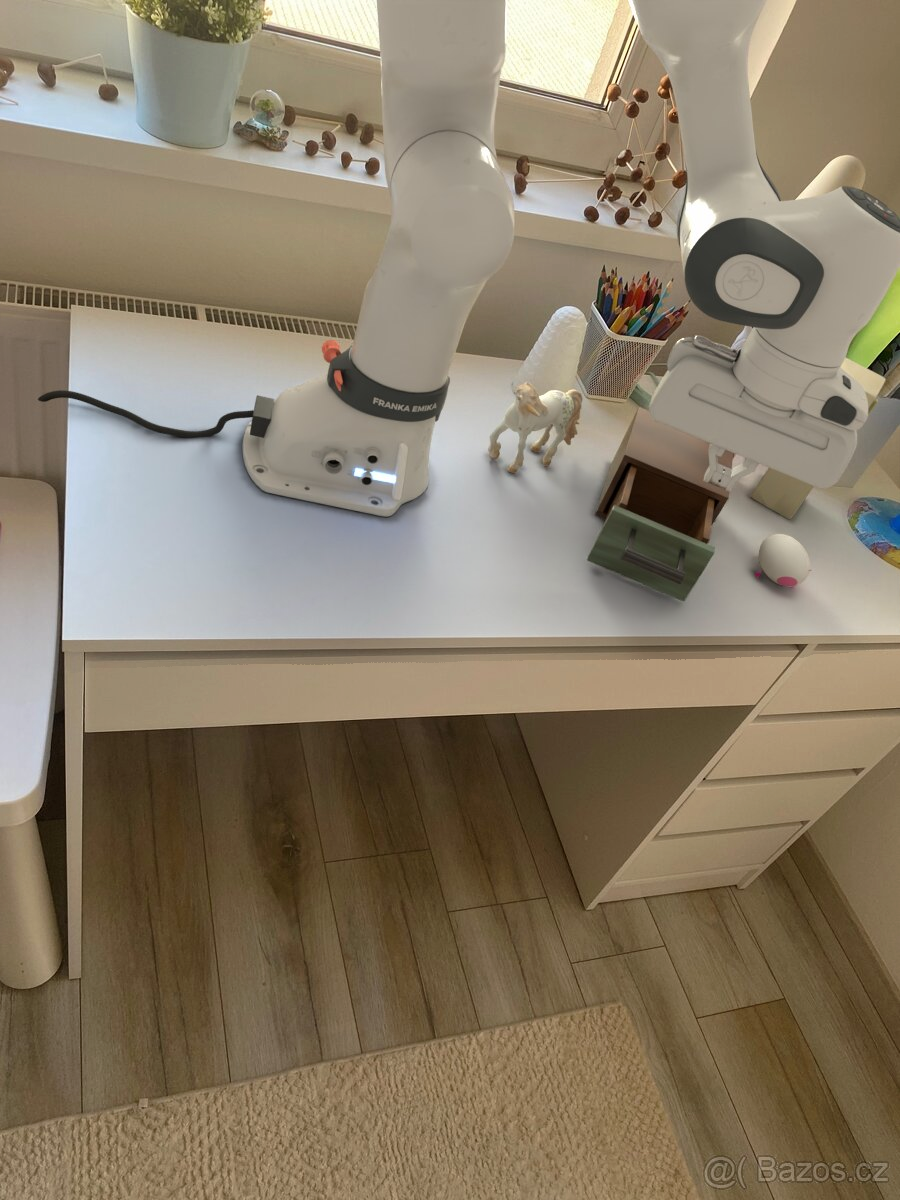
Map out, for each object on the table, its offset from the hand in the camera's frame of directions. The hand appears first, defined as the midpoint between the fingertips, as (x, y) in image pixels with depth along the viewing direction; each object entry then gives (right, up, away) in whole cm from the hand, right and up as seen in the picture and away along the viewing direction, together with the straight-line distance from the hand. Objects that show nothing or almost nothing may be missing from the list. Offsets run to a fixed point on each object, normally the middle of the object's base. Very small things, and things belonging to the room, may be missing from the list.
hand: (716, 483), depth 96 cm
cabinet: (-1, 0, +25) cm, 25 cm away
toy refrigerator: (+20, +2, +37) cm, 42 cm away
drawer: (-5, -8, +14) cm, 17 cm away
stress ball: (+14, -9, +22) cm, 28 cm away
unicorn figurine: (-18, +4, +23) cm, 29 cm away
